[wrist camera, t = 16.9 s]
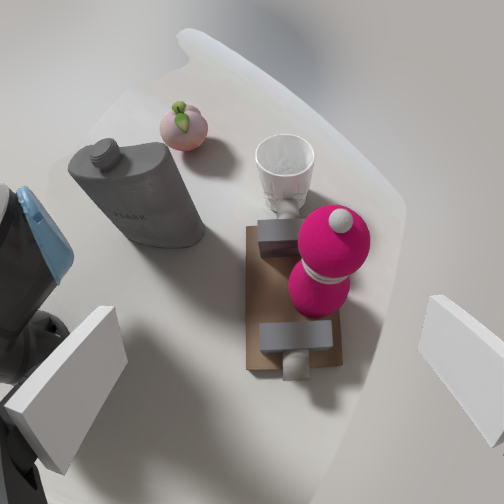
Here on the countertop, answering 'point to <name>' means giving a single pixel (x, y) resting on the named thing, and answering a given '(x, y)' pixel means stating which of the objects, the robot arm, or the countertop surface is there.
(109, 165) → the flask
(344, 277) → the pepper mill
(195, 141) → the decorative fruit
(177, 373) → the countertop surface
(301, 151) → the white cup
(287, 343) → the block
